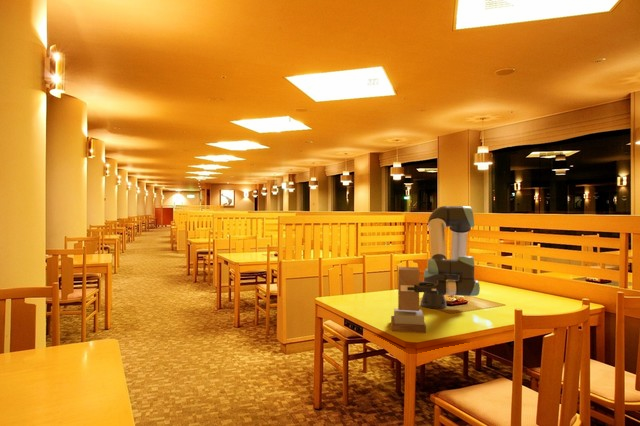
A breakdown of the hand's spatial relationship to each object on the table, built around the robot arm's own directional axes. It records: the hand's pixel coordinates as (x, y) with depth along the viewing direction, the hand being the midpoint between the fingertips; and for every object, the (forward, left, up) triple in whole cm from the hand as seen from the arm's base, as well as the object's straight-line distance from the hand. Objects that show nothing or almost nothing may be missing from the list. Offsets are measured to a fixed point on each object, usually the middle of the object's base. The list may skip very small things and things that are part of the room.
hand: (400, 285), depth 203 cm
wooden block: (0, +4, -11) cm, 12 cm away
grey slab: (0, +4, -17) cm, 18 cm away
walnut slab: (0, +4, -21) cm, 22 cm away
